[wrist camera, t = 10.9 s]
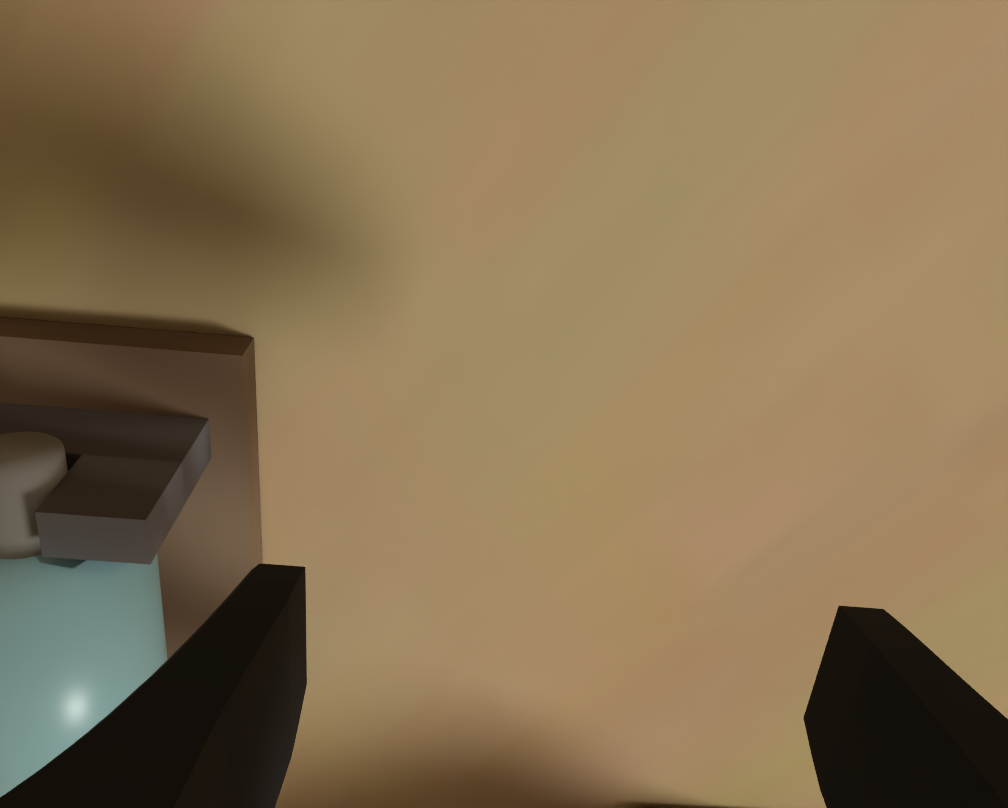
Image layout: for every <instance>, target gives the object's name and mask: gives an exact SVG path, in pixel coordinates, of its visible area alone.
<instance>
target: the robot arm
mask: <svg viewBox="0 0 1008 808" xmlns="http://www.w3.org/2000/svg"><path fill="white" fill-rule="evenodd" d="M306 685H307V672H306V588H305V567H299V566H285V565H272V564H258V565H257V566H256V567H254V568H253V569H252V570H251V571H250V572H249V573H248V574H247V575H246V576H245V578H244V579H243V580H242V581H241V582H240V583H239V584H238V586H237V587H236V588H235V589H234V590H233V591H232V592H231V594H230V595H229V596H228V597H227V598H226V599H225V600H224V601H223V602H222V604H221V605H220V606H219V607H218V608H217V609H216V610H215V611H214V612H213V613H212V614H211V616H210V617H209V618H208V619H207V620H206V621H205V622H204V623H203V624H202V625H201V626H200V627H199V628H198V629H197V631H196V632H195V633H194V634H193V635H192V636H191V637H190V638H189V639H188V640H187V641H186V642H185V643H184V644H183V645H182V646H181V647H180V648H179V649H178V650H177V651H176V652H175V653H174V654H173V655H172V656H171V657H170V658H169V659H168V660H167V661H166V662H165V663H164V664H163V665H162V666H161V667H160V668H159V669H158V670H157V671H156V672H155V673H154V674H152V675H151V676H150V677H149V678H148V679H147V680H146V681H145V682H144V683H143V684H141V685H140V686H139V687H138V688H137V689H136V690H135V691H134V692H133V693H132V694H130V695H129V696H128V697H127V698H126V699H125V700H124V701H123V702H122V703H121V704H119V705H118V706H117V707H116V708H115V709H114V710H113V711H112V712H111V713H109V714H108V715H107V716H106V717H105V718H104V719H103V720H101V721H100V722H99V723H98V724H97V725H95V726H94V727H93V728H92V729H91V730H89V731H88V732H87V733H86V734H85V735H83V736H82V737H81V738H80V739H78V740H77V741H76V742H75V743H73V744H72V745H71V746H70V747H68V748H67V749H66V750H64V751H63V752H62V753H61V754H59V755H58V756H57V757H55V758H54V759H53V760H51V761H50V762H49V763H48V764H46V765H45V766H44V767H42V768H41V769H40V770H38V771H37V772H36V773H34V774H33V775H31V776H30V777H29V778H27V779H26V780H24V781H23V782H21V783H20V784H19V785H17V786H16V787H14V788H13V789H12V790H10V791H9V792H7V793H6V794H4V795H3V796H2V797H0V808H275V805H276V802H277V799H278V796H279V793H280V790H281V787H282V784H283V781H284V778H285V775H286V771H287V768H288V765H289V762H290V759H291V756H292V752H293V747H294V743H295V738H296V733H297V729H298V724H299V719H300V714H301V709H302V704H303V699H304V694H305V690H306ZM804 722H805V727H806V731H807V736H808V740H809V745H810V749H811V754H812V758H813V762H814V766H815V770H816V774H817V778H818V782H819V786H820V790H821V793H822V796H823V798H824V801H825V804H826V807H827V808H1008V719H1007V718H1006V717H1005V716H1003V715H1002V714H1001V713H1000V712H999V711H998V710H997V709H995V708H994V707H993V706H992V705H991V704H990V703H989V702H988V701H986V700H985V699H984V698H983V697H982V696H981V695H980V694H978V693H977V692H976V691H975V690H974V689H973V688H972V687H971V686H970V685H968V684H967V683H966V682H965V681H964V680H963V679H962V678H961V677H960V676H958V675H957V674H956V673H955V672H954V671H953V670H952V669H951V668H950V667H949V666H947V665H946V664H945V663H944V662H943V661H942V660H941V659H940V658H939V657H938V656H936V655H935V654H934V653H933V652H932V651H931V650H930V649H929V648H928V647H926V646H925V645H924V644H923V643H922V642H921V641H920V640H919V639H918V638H916V637H915V636H914V635H913V634H912V633H911V632H910V631H909V630H907V629H906V628H905V627H904V626H903V625H902V624H901V623H899V622H898V621H897V620H896V619H895V618H894V617H892V616H891V615H890V614H889V613H887V612H886V611H885V610H884V609H875V608H862V607H848V606H839V607H838V610H837V613H836V616H835V620H834V623H833V626H832V629H831V632H830V635H829V639H828V642H827V645H826V648H825V651H824V655H823V658H822V661H821V664H820V667H819V670H818V674H817V677H816V680H815V683H814V686H813V690H812V693H811V696H810V699H809V702H808V705H807V709H806V712H805V715H804Z"/></svg>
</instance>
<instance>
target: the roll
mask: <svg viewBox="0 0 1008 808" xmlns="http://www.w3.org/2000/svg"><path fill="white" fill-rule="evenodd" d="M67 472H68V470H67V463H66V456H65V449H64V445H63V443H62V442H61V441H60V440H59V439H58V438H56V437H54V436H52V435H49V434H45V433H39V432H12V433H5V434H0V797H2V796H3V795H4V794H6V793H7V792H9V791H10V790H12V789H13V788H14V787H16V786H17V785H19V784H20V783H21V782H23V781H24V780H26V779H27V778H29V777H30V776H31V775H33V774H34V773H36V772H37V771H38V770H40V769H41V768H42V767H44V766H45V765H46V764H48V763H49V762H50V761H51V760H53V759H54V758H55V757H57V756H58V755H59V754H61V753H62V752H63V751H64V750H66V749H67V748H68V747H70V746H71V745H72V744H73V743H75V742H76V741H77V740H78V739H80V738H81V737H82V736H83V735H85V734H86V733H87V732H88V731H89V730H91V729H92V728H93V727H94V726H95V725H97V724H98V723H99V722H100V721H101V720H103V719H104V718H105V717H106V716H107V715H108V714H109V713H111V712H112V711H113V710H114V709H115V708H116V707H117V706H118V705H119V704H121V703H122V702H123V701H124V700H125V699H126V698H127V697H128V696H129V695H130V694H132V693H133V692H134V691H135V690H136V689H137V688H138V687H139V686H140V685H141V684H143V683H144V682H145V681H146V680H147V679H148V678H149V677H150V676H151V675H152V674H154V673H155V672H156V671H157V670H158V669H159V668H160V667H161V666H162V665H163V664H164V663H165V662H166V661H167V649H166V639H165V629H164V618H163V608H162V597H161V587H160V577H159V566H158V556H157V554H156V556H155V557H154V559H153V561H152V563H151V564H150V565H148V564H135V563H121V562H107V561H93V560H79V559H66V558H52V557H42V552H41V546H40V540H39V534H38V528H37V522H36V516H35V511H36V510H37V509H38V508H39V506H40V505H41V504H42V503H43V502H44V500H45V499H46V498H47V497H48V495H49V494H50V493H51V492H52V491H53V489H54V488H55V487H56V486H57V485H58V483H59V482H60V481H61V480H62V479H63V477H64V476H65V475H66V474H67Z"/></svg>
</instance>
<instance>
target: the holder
mask: <svg viewBox="0 0 1008 808" xmlns="http://www.w3.org/2000/svg"><path fill="white" fill-rule="evenodd" d="M12 432H39V433H45V434H49V435H52V436H54V437H56V438H58V439H59V440H60V441H61V442H62V443H63V445H64V449H65V456H66V463H67V470H68V472H67V474H66V475H65V476H64V477H63V479H62V480H61V481H60V482H59V483H58V485H57V486H56V487H55V488H54V489H53V491H52V492H51V493H50V494H49V495H48V497H47V498H46V499H45V500H44V502H43V503H42V504H41V505H40V506H39V508H38V509H37V510H36V511H35V516H36V522H37V528H38V534H39V540H40V546H41V552H42V557H52V558H66V559H79V560H93V561H107V562H121V563H135V564H148V565H150V564H151V563H152V561H153V559H154V557H155V556H156V554H157V556H158V566H159V577H160V587H161V597H162V608H163V618H164V629H165V639H166V649H167V660H168V659H169V658H170V657H171V656H172V655H173V654H174V653H175V652H176V651H177V650H178V649H179V648H180V647H181V646H182V645H183V644H184V643H185V642H186V641H187V640H188V639H189V638H190V637H191V636H192V635H193V634H194V633H195V632H196V631H197V629H198V628H199V627H200V626H201V625H202V624H203V623H204V622H205V621H206V620H207V619H208V618H209V617H210V616H211V614H212V613H213V612H214V611H215V610H216V609H217V608H218V607H219V606H220V605H221V604H222V602H223V601H224V600H225V599H226V598H227V597H228V596H229V595H230V594H231V592H232V591H233V590H234V589H235V588H236V587H237V586H238V584H239V583H240V582H241V581H242V580H243V579H244V578H245V576H246V575H247V574H248V573H249V572H250V571H251V570H252V569H253V568H254V567H256V566H257V565H258V564H262V540H261V513H260V487H259V460H258V433H257V407H256V380H255V353H254V338H251V337H238V336H226V335H214V334H201V333H189V332H177V331H165V330H152V329H140V328H128V327H115V326H103V325H91V324H78V323H66V322H54V321H42V320H29V319H17V318H5V317H0V434H5V433H12Z"/></svg>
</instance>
